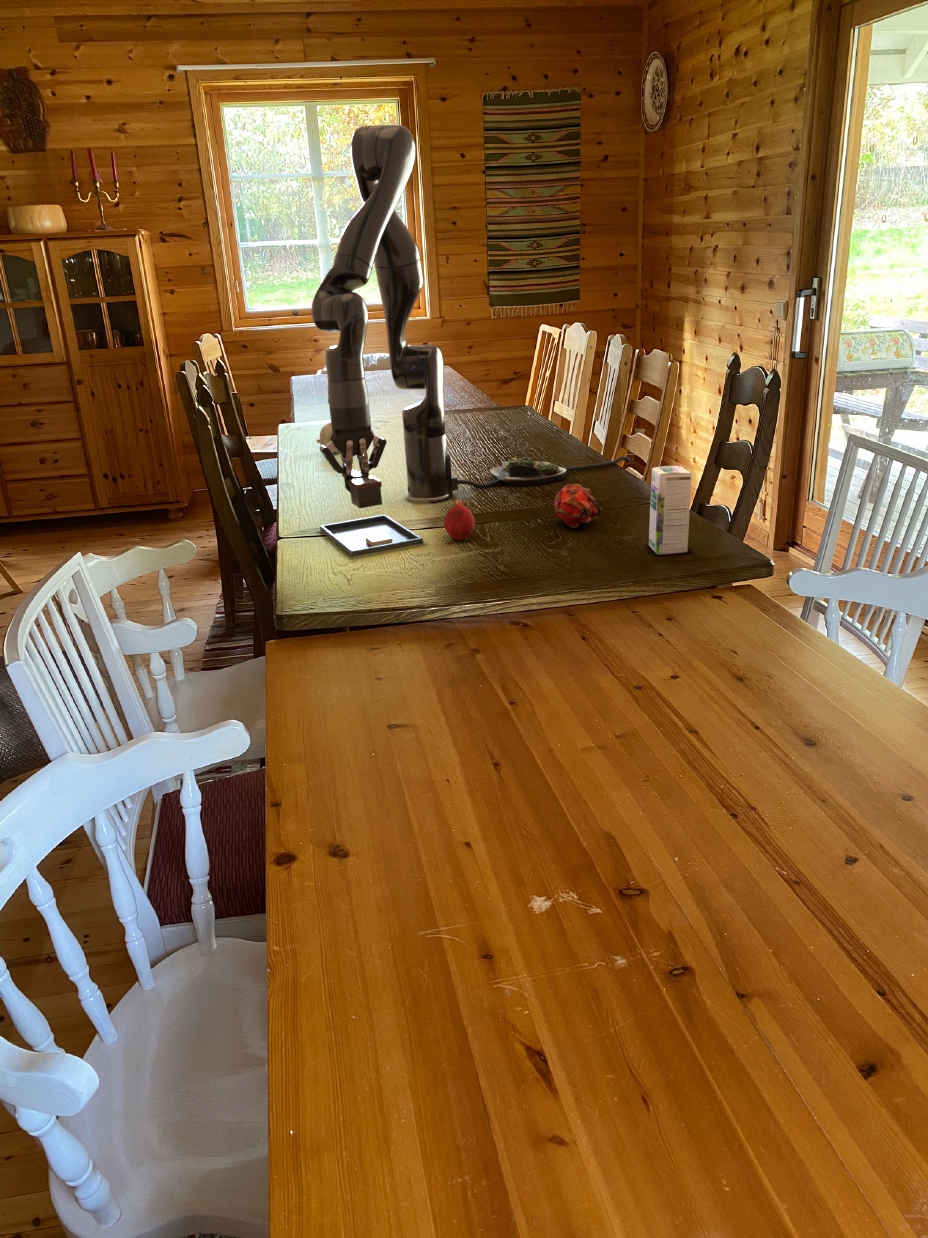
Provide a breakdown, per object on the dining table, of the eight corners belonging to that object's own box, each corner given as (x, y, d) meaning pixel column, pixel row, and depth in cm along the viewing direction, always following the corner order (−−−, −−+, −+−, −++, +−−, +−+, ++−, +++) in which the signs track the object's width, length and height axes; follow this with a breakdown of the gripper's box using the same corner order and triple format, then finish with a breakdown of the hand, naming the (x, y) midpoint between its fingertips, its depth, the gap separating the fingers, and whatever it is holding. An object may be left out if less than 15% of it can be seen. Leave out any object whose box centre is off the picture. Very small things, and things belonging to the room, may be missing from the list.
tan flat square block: (385, 538, 178) (384, 533, 178) (392, 543, 175) (392, 538, 174) (365, 541, 177) (365, 536, 176) (372, 547, 173) (372, 542, 173)
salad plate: (474, 472, 227) (473, 454, 225) (540, 463, 232) (540, 445, 230) (504, 489, 210) (503, 469, 208) (574, 479, 215) (574, 460, 213)
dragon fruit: (568, 522, 188) (588, 546, 178) (536, 503, 184) (555, 527, 174) (593, 488, 186) (614, 511, 176) (561, 468, 182) (582, 490, 172)
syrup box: (647, 545, 166) (649, 466, 161) (679, 543, 167) (682, 464, 161) (656, 555, 161) (658, 474, 155) (689, 552, 161) (692, 471, 156)
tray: (386, 520, 191) (385, 514, 190) (423, 545, 174) (422, 538, 173) (320, 532, 186) (319, 525, 185) (352, 558, 169) (351, 551, 168)
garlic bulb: (350, 458, 263) (359, 424, 260) (343, 459, 255) (352, 424, 252) (319, 448, 263) (327, 414, 261) (311, 449, 255) (319, 414, 252)
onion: (472, 546, 172) (470, 504, 169) (442, 545, 173) (439, 504, 170) (478, 536, 177) (476, 496, 174) (449, 536, 178) (446, 496, 175)
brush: (383, 504, 176) (381, 478, 174) (359, 508, 174) (356, 483, 172) (360, 490, 188) (357, 466, 186) (337, 494, 186) (334, 470, 184)
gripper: (319, 410, 168) (330, 501, 175) (389, 400, 173) (397, 490, 180) (308, 404, 175) (319, 493, 181) (376, 395, 180) (384, 482, 186)
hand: (358, 491), depth 181 cm, fingers closed on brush
